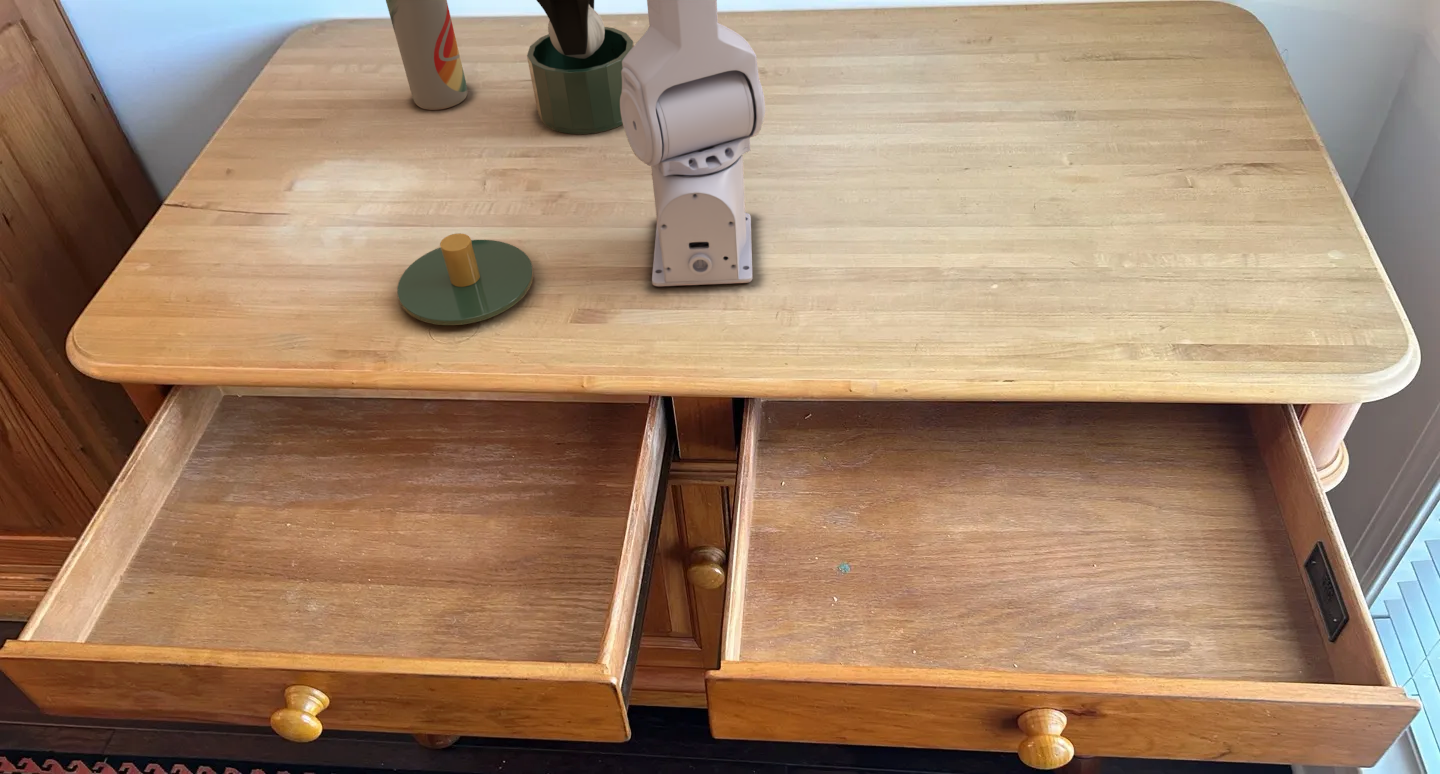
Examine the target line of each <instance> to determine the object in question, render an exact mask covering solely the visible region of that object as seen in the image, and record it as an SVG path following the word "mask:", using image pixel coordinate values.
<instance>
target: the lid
mask: <svg viewBox="0 0 1440 774" xmlns="http://www.w3.org/2000/svg"><path fill="white" fill-rule="evenodd" d="M534 276H535V275H534V266H533V264H532V261H531V259H530V257H529V256H528V255H527V254H526V253H525V252H524V251H523V250H521V249H520V248H519V247H517V246H515V245H513V244H510V243H508V242H504V241H499V240H494V239H472V238H471V237H470V236H469V235H468V234H466V233H461V232H460V233H452V234H449V235H447V236H445V237H444V238H442V240H441V241H440V244H439V247H438V248H434V249H433V250H430V251H429V252H426V253H425V254H423V255H422V256H420V257H419V258H417V259H416V260H415V261H413V262H412V263H411V264H410V265H409V266H408V267H406V269H405V270H404V271H403V273H402V274H401V276H400V278H399V280H398V284H397V291H396V293H397V298H398V302H399V304H400V307H402V309H403V310H404V311H405V312H406V313H407V314H408V315H410V316H411V317H412V318H414V319H417V320H419V321H422V322H424V323H427V324H433V325H439V326H462V325H467V324H473V323H477V322H482V321H485V320H488V319H491V318H494V317H496V316H498V315H500V314H503V313H504V312H506V311H507V310H509V309H511V308H512V307H514V306H515V305H517V304H518V303H519V302H520V301H521V300H522V299H523V298H524V297H525V296H526V295H527V293H528V292H529V290H530V288H531V287H532V284H533V281H534Z"/></svg>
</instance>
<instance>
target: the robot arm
mask: <svg viewBox="0 0 1440 774" xmlns="http://www.w3.org/2000/svg"><path fill="white" fill-rule="evenodd" d="M536 2H537V3H538V4H539V6H540V7H541V8H542V10H543V11H544V13H545V14H546V16H547V19H548V20H550V22H551V24H552V26H553V29H554V31H555V34H556V36H557V39H558V42H559V44H560V46H561V49H562V51H563V53H564V55H582V54H586V50H587V43H588V7H589V5H590V7H592V8H593V9H594V10H595V0H536ZM646 6H647V16H648V25H649V26H648V28H647V30H646V31H645V32H644V34H643V35H642V36H641V37H640V38H639V39H638V40H637V41H636V43H635V44H634V46H633V48H632V49H631V50H630V51H629V52H628V54H627V55H626V56H625V57H624V59H623V61H622V68H623V69H622V71H621V74H622V93H621V96H620V112H621V118H622V123H623V125H622V126H623V130H624V133H625V137H626V139H627V142H628V144H629V146H630V148H631V150H632V152H633V154H634V155H635V156H636V158H637V159H638V160H640V161H641V162H642V163H644V164H645V165H646V166H648V167H650V169H651V170H650V171H651V180H652V187H653V196H654V206H655V215H656V227H655V239H654V252H653V264H652V273H651V284H652V285H653V286H654V287H677V286H700V285H702V286H703V285H727V284H746V283H747V284H748V283H751V282H752V281H753V251H752V250H753V248H752V247H753V246H752V216H751V214H750V213H748V212H746V201H745V200H746V199H745V197H746V195H745V179H744V178H745V177H744V157H743V156H744V154H746V153H749V152H750V151H751V138H754V137H757V136H758V134H760V132H761V130H762V127H763V124H764V122H765V118H766V99H765V94H764V89H763V86H762V83H761V80H760V79H761V78H760V74H759V66H758V56H757V54H756V52H755V50H754V49H753V48H752V46H751V45H750V42H748V41H747V40H746V39H745V37H743V36H742V35H741V34H740V33H738V32H736V30H734V29H731V28H729V27H728V26H726V25H724V24H722V23H720V22H719V19H718V0H646Z"/></svg>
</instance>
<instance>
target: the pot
mask: <svg viewBox="0 0 1440 774" xmlns="http://www.w3.org/2000/svg"><path fill="white" fill-rule="evenodd" d="M604 28H605V35H604V41H603V43H602V45H601V46H600V47H599V49H597V50H596V51H595V52H594V53H593V54H592V55H591V56H589V57H587V58H584V59H583V58H575V57H569V56H566V55H563V54H561V53H560V52H558V51H557V50H556V48H555V47H554V46H553V44H552V42H551V39H550V36H549V33H548V34H546V35H543V36H541V37H539V38H538V39H537V40H535V41H534V42H533V43H532V44H531V45H530V46H529V48H528V51H527V54H526V58H527V63H528V69H529V74H530V79H531V85H532V90H533V95H534V101H535V106H536V111H537V114H538V118H539V119H540V122H541V123H542V124H543V125H544V126H545V127H547V128H549V129H551V130H553V131H555V132H559V133H563V134H570V135H591V134H598V133H603V132H607V131H610V130H614V129H616V128H618V127H621V126H623V123H622V118H621V112H620V96H621V93H622V74H621V71H622V69H623V68H622V61H623V59H624V57H625V56H626V55H627V54H628V52H629V51H630V50H631V49H632V48H633V46H634V45H635V44H634V40H633V39H632V38H631V37H630V36H629V34H628V33H627V32H624V31H622V30H619V29H617V28H615V27H610V26H604Z"/></svg>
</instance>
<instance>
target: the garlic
mask: <svg viewBox="0 0 1440 774" xmlns="http://www.w3.org/2000/svg"><path fill="white" fill-rule="evenodd" d="M548 20H549V19H548ZM604 27H605V23H604V21H603V19H602V16H601V15H600V14H599V13H598V12H597V11H596V10H595V8H594V9H593V8H592V7H590V5H589V7H588V43H587V50H586V54H582V55H566V56H569V57H575V58H583V59H584V58H587V57H589V56H591V55H592V54H593V53H594V52H595V51H596V50H597V49H599V47H600V46H601V45H602V43H603V41H604V35H605V28H604ZM547 32H548V34H549V36H550V39H551V42H552V44H553V46H554V47H555V48H556V50H557V51H558V52H560V53H561V54H563V55H564V53H563V51H562V49H561V46H560V44H559V42H558V39H557V36H556V34H555V31H554V29H553V26H552V24H551V22H550V20H549V21H548V26H547Z"/></svg>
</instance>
